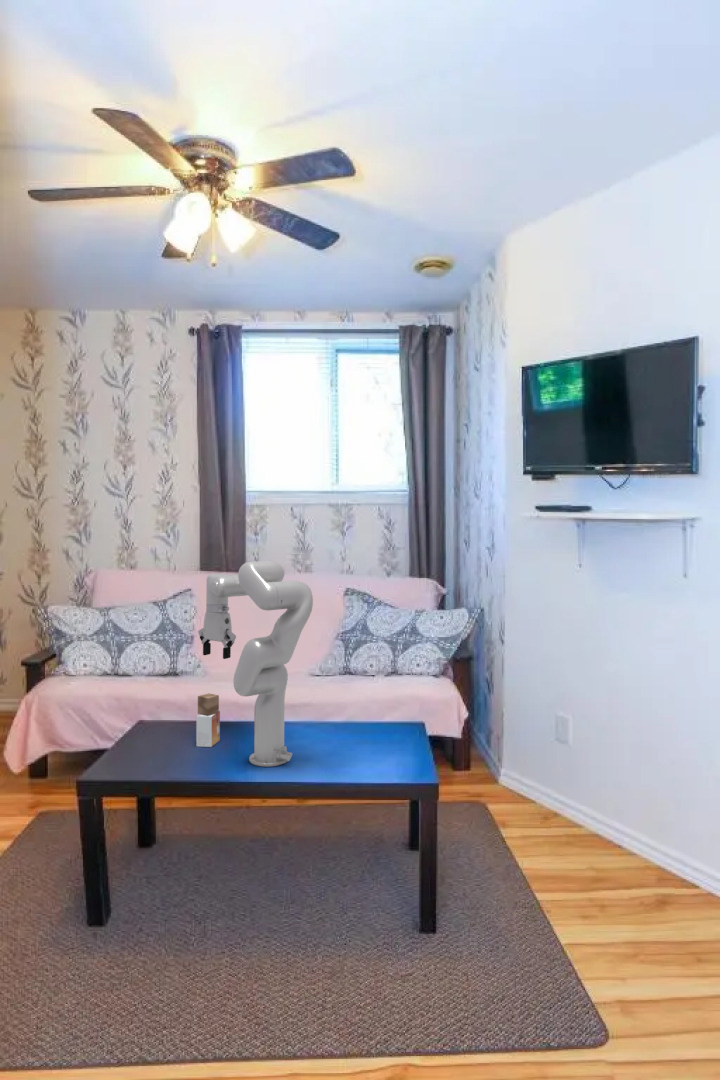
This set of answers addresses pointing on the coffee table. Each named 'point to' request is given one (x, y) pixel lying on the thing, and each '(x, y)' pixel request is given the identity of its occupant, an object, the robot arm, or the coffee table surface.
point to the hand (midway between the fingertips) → (216, 656)
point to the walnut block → (208, 704)
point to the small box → (207, 730)
